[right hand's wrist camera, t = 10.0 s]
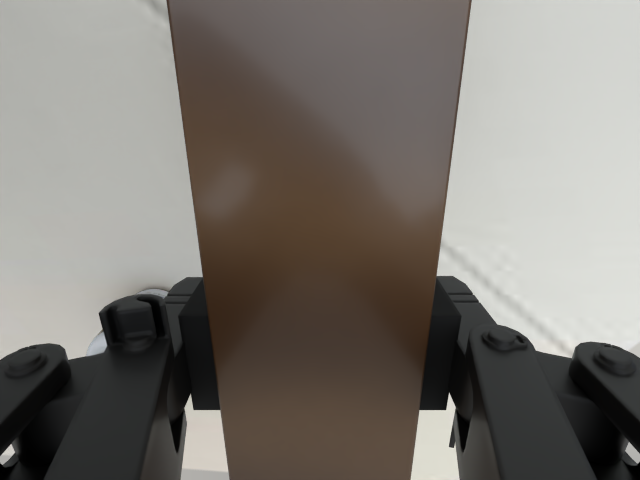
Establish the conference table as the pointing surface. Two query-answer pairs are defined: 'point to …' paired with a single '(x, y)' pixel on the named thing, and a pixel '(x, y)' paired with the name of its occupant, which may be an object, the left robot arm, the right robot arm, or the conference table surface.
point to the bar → (319, 219)
